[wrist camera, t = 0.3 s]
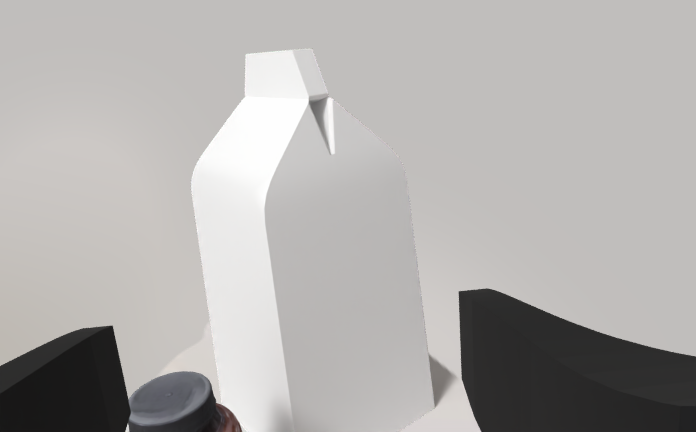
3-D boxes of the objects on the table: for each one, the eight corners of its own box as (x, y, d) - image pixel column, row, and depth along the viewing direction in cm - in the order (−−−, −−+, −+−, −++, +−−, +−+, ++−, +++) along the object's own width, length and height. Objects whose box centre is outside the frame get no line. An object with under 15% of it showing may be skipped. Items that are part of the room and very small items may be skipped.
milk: (221, 403, 43) (152, 64, 35) (339, 346, 50) (303, 47, 42) (303, 492, 34) (234, 58, 26) (434, 408, 40) (412, 37, 32)
